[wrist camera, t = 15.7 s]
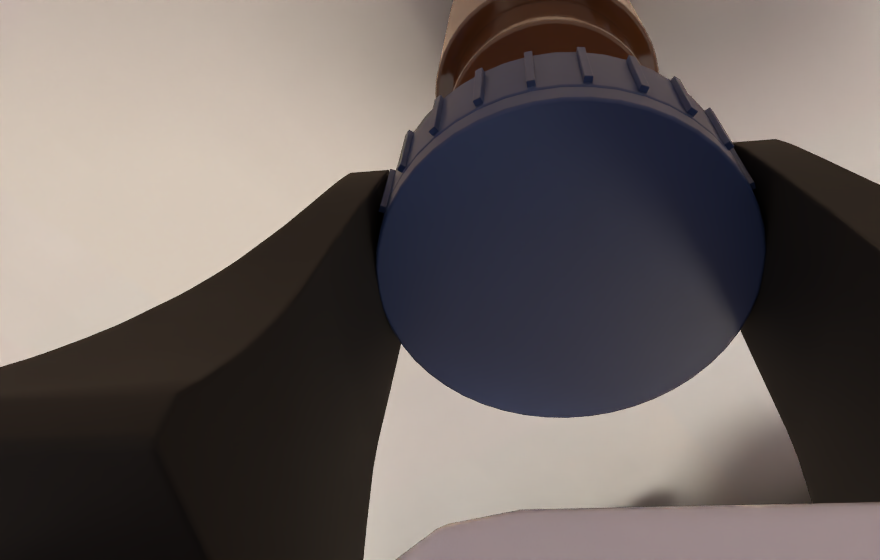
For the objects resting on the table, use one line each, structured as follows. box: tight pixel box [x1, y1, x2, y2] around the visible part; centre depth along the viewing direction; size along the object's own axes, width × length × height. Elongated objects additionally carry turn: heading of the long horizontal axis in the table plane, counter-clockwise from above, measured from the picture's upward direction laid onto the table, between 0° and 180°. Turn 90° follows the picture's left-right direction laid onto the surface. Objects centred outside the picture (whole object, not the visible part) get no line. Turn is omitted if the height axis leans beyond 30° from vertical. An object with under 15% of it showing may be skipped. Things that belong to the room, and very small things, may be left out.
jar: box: [435, 0, 659, 98], centre depth 17 cm, size 5×5×6 cm
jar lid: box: [375, 47, 766, 418], centre depth 11 cm, size 5×5×2 cm
